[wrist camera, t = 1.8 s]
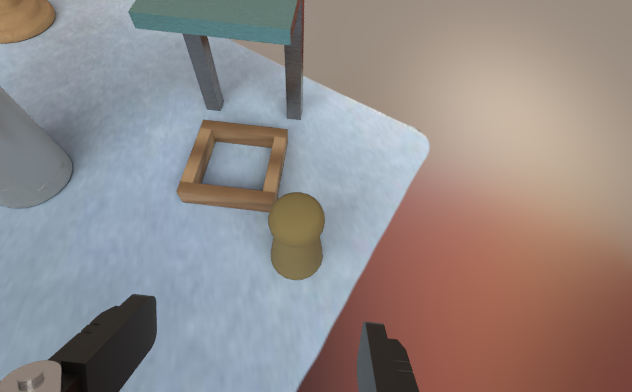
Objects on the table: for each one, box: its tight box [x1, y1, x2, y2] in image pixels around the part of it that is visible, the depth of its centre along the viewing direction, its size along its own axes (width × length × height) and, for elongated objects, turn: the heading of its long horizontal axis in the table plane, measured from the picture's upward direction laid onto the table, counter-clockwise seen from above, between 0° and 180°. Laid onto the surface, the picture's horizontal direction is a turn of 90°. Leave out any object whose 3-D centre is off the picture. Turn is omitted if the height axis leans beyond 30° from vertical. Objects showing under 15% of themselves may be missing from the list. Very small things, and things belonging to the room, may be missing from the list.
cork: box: [268, 192, 325, 280], centre depth 34 cm, size 6×6×11 cm
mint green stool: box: [128, 0, 304, 120], centre depth 39 cm, size 10×14×20 cm
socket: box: [177, 120, 288, 212], centre depth 43 cm, size 12×12×2 cm
